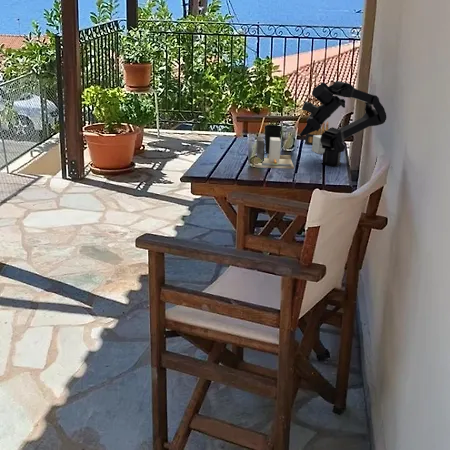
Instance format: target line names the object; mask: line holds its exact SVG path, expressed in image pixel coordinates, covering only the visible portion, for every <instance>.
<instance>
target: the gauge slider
mask: <svg viewBox="0 0 450 450" xmlns="http://www.w3.org/2000/svg"><path fill="white" fill-rule="evenodd" d="M281 143H282V140H281V137H280V138H277V137H270V147H269V154H268V155H269V161H270V162H274V163H277V162H279V161H280V155H281V147H282V146H281V145H282V144H281Z"/></svg>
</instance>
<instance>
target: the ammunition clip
mask: <svg viewBox="0 0 450 450" xmlns="http://www.w3.org/2000/svg"><path fill="white" fill-rule="evenodd" d="M326 121H327V120H326ZM326 121H325V122H324V123H323V124H322V125H321V128H320V129H319V130H318V131H313V132H311V133H309V134H306V135H305V141H304V145H306V146H312V144H313V136H314V135H322V134H323V133H324V132H325V130H328V129H329V120H328V121H327V122H326Z"/></svg>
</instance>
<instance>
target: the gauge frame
mask: <svg viewBox="0 0 450 450" xmlns="http://www.w3.org/2000/svg"><path fill="white" fill-rule="evenodd" d="M256 142H257V148H256V147H255V154H256V153H257V157H259V158H260V159H261V160H262V163H258V164H255V163H254V162H253V167H254V168H260V169H261V168H262V169H263V168H264V169H265V168H266V169H289V170H290V169H292V170H294V169H295V166H294V163H293V161H292V155H289V154H288V155H287V154H286V155H285V154H280V161H279V162H277V163H274V162H270V161H269V154H267V155H266V156H267V157H265V139H264V136H256ZM263 158H264V161H263Z"/></svg>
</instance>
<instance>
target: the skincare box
mask: <svg viewBox="0 0 450 450" xmlns="http://www.w3.org/2000/svg"><path fill="white" fill-rule="evenodd" d="M321 136H322V135H314V136H313V144H312V145H311V152H313V153H316V154H319V155H321V154H322V155H323V153H324V152H325V149H324V148H322V144H321V141H320V139H321Z"/></svg>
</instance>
